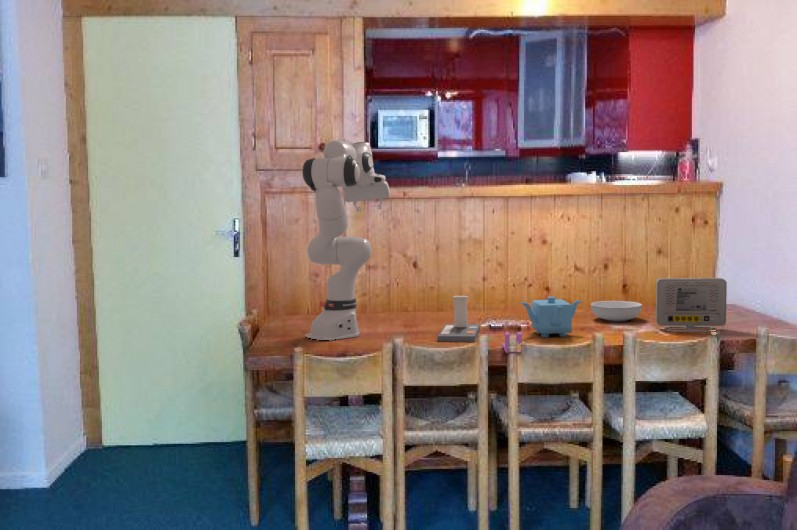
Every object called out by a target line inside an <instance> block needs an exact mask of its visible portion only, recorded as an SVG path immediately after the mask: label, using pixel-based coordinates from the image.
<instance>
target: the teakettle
mask: <svg viewBox="0 0 797 530" xmlns="http://www.w3.org/2000/svg"><path fill="white" fill-rule="evenodd" d="M546 298H547V299H535V300H531V305H530V303H528V302H520V304H521V305H523V306H524V307H525V309H526V312H527V316H528V319H530V321H531V324H532V329H534V331H536V334H537V335H541V336H540V337H541V338H549V337H550V334H558V335H559V337H561V338H562V337H563V338H565V337H566V338H567V337H568V335H567V334H572V332H573V331H572V329H573V328H572V326H573V322H572V321H573V319H574V317H575V314H576V310H577V308H578V305H579V304H581V302H584V300H581V299H580V300H575V301H573V303H572V304H571V303H569V302H568V301H566V300H563V299H557V297H555V296H547V297H546Z"/></svg>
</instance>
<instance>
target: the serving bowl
mask: <svg viewBox="0 0 797 530" xmlns="http://www.w3.org/2000/svg"><path fill="white" fill-rule="evenodd" d="M590 308H591V312H592V313H593V315H594V316H596V317H597V318H600V319H602V320H605V321H607V322H614V323H615V322H617V323H618V322H620V323H621V322H627V321H628V320H633V319H635V318H636V317H638V316H639V315H640V314H641V311H642V309H643V304H642V303H640V302H636V301H628V300H627V301H625V300H624V301H623V300H604V301H603V300H602V301H594V302H591V303H590Z"/></svg>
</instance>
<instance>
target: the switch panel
mask: <svg viewBox="0 0 797 530" xmlns="http://www.w3.org/2000/svg"><path fill="white" fill-rule="evenodd" d="M480 331H481V323H467V327H454V323H445V324H444V326H443V328H442V329H441V330H440V331H439V333H438V335H437V342H458V343H459V342H460V343H461V342H464V343H465V342H471V343H472V342H474V343H475V342H476V339H477V337H478V335H479V333H480Z"/></svg>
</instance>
